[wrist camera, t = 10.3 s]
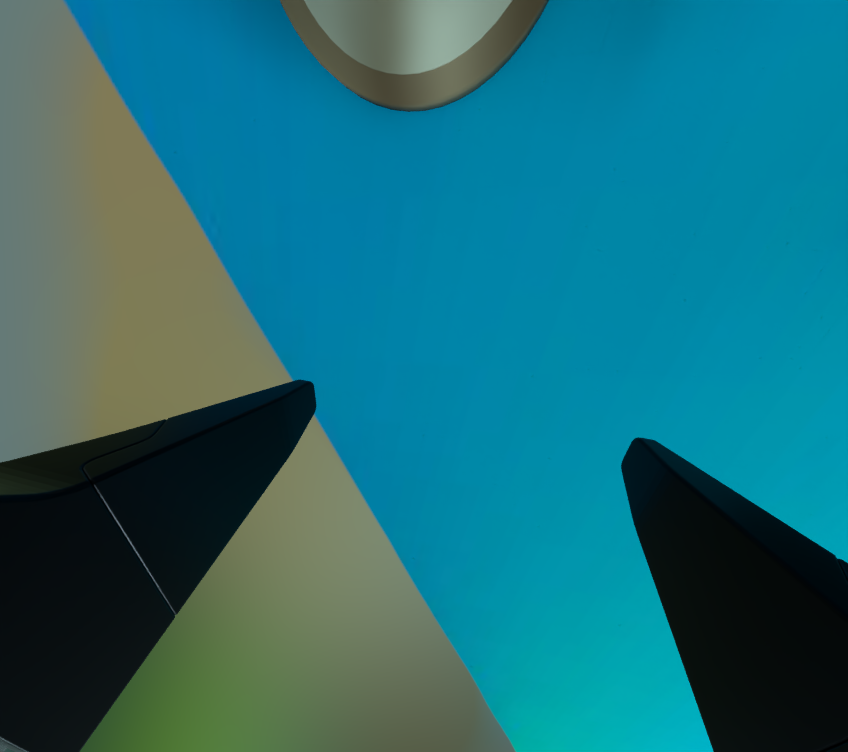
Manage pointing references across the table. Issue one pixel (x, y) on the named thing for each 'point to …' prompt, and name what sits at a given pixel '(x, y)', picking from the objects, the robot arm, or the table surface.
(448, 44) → the hub plate
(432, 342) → the table surface
